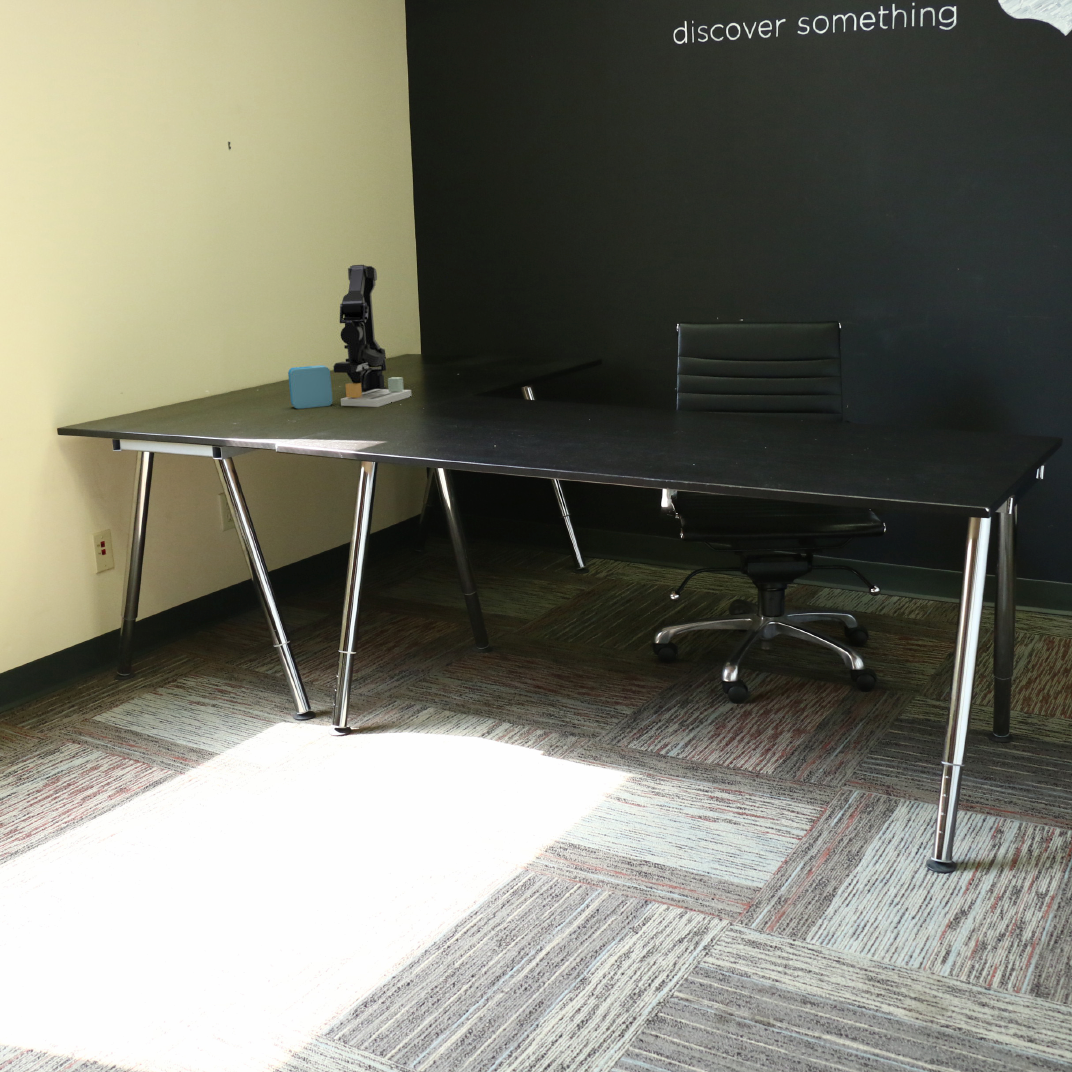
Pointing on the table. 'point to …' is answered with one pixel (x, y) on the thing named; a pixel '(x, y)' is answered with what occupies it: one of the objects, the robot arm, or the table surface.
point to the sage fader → (395, 384)
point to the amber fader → (353, 390)
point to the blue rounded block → (310, 386)
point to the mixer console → (376, 398)
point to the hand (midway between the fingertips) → (360, 392)
